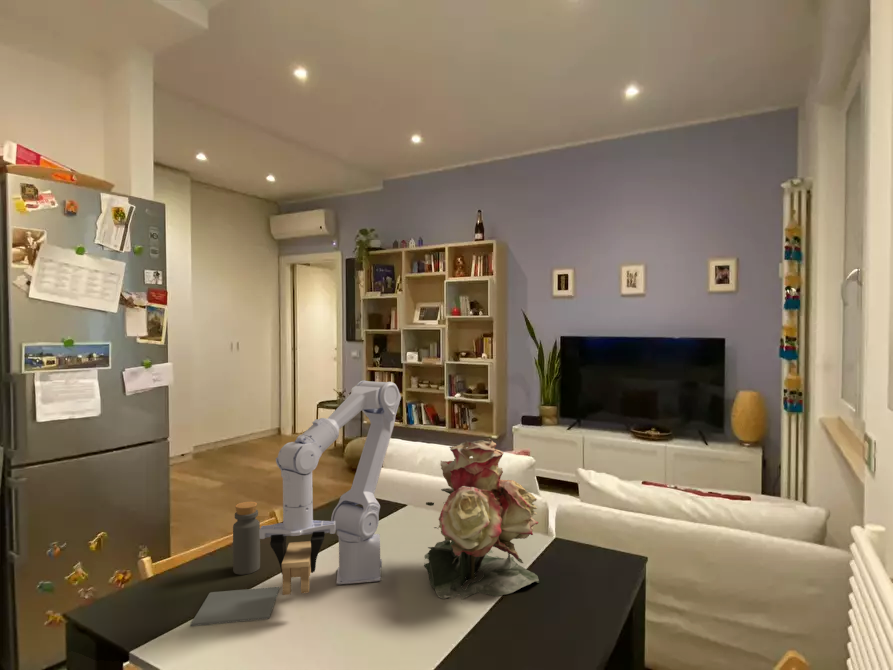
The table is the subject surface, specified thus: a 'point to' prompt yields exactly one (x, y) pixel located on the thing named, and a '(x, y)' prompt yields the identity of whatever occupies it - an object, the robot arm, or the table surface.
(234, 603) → the grey mat
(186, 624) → the table surface
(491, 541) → the rose bouquet
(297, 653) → the table surface
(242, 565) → the bottle
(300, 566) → the oak stool
